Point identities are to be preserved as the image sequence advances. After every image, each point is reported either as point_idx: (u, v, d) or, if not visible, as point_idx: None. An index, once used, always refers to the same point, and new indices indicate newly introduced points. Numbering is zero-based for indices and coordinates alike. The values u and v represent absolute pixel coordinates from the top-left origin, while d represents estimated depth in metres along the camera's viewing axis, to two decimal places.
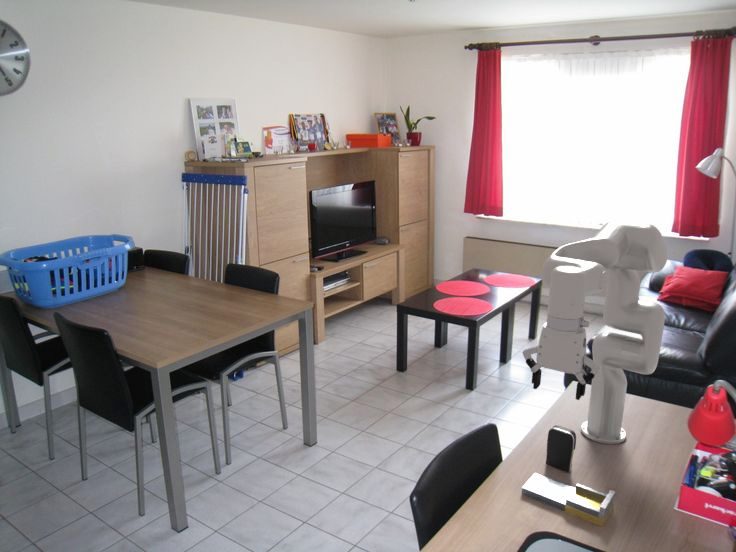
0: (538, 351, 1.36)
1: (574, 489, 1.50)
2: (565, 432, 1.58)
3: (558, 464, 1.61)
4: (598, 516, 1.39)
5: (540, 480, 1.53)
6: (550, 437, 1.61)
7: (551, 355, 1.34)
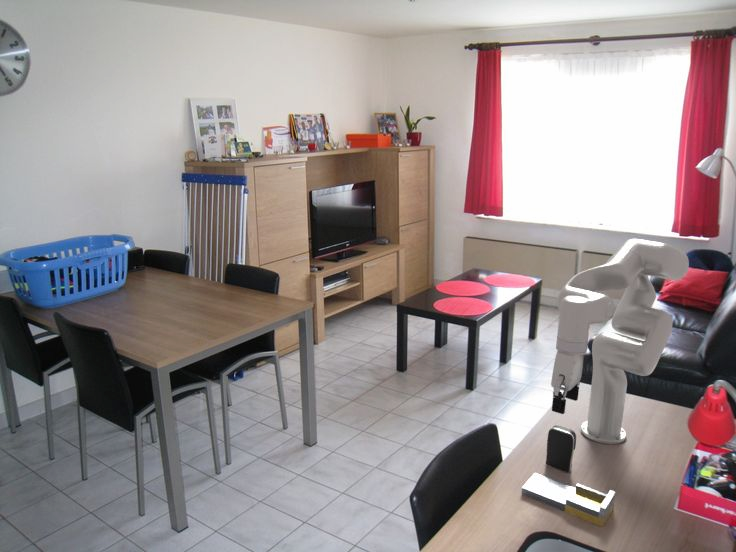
0: (570, 379, 1.50)
1: (574, 489, 1.50)
2: (565, 432, 1.58)
3: (558, 464, 1.61)
4: (598, 516, 1.39)
5: (540, 480, 1.53)
6: (550, 437, 1.61)
7: (575, 376, 1.53)
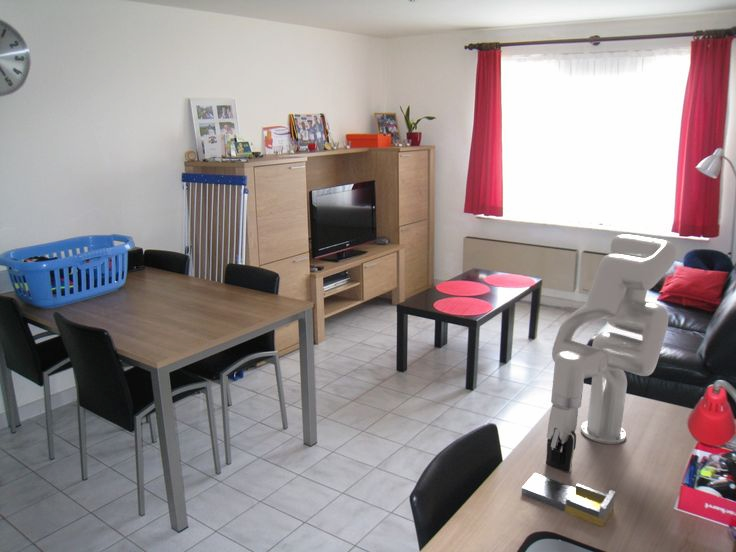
0: (565, 432, 1.55)
1: (574, 489, 1.50)
2: None
3: (558, 464, 1.61)
4: (598, 516, 1.39)
5: (540, 480, 1.53)
6: None
7: (570, 429, 1.57)
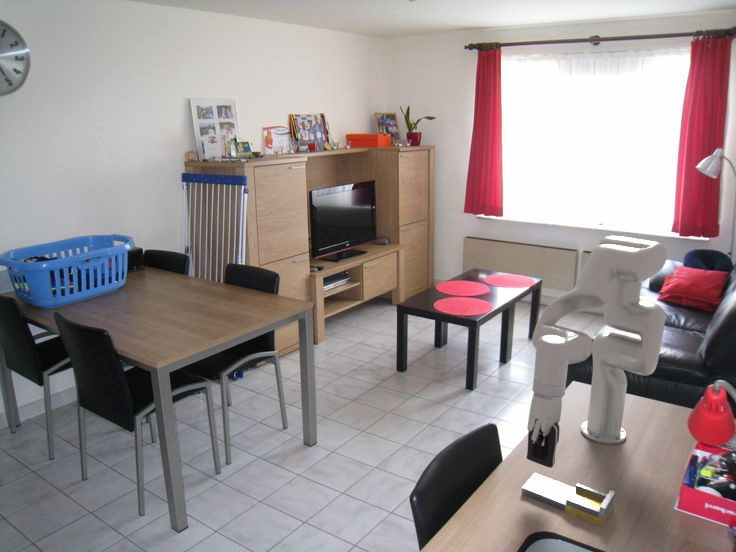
0: (546, 423, 1.42)
1: (574, 489, 1.50)
2: None
3: None
4: (598, 516, 1.39)
5: (540, 480, 1.53)
6: None
7: (553, 420, 1.44)
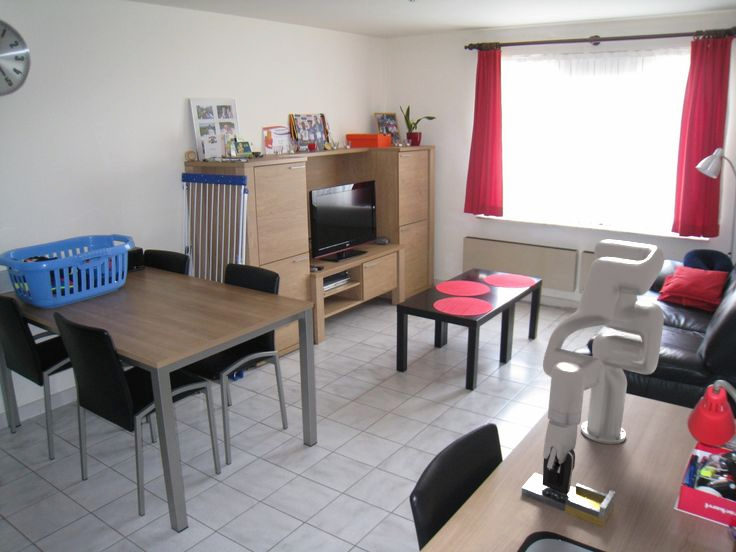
0: (562, 451, 1.41)
1: (574, 489, 1.50)
2: None
3: None
4: (598, 516, 1.39)
5: (540, 480, 1.53)
6: None
7: (569, 447, 1.43)
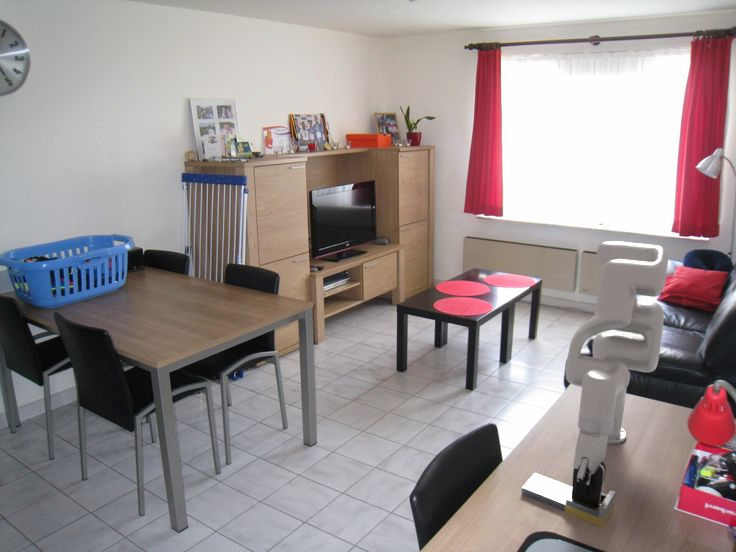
0: (594, 462, 1.36)
1: None
2: None
3: None
4: (598, 516, 1.39)
5: (540, 480, 1.53)
6: None
7: (600, 458, 1.39)
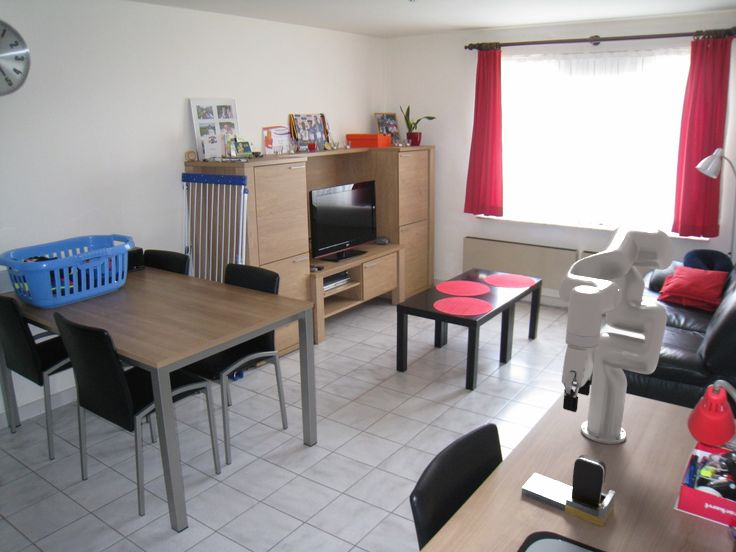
0: (582, 375, 1.40)
1: None
2: (594, 463, 1.41)
3: (586, 498, 1.43)
4: (598, 516, 1.39)
5: (540, 480, 1.53)
6: (577, 468, 1.43)
7: (587, 371, 1.43)
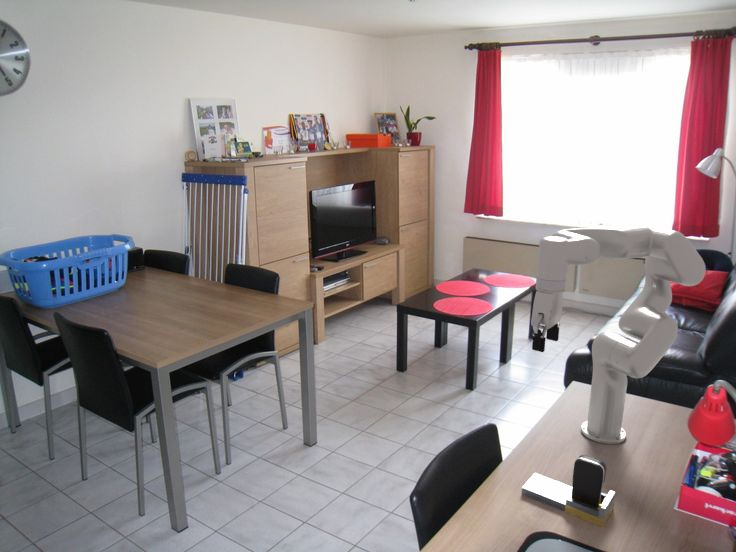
0: (549, 317, 1.54)
1: None
2: (594, 463, 1.41)
3: (586, 498, 1.43)
4: (598, 516, 1.39)
5: (540, 480, 1.53)
6: (577, 468, 1.43)
7: (554, 315, 1.56)
